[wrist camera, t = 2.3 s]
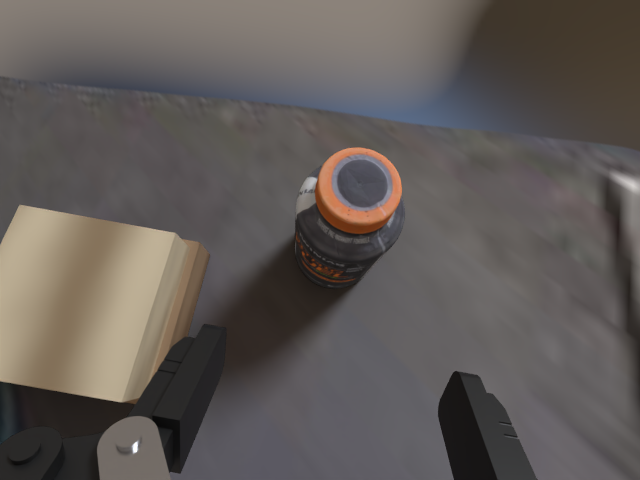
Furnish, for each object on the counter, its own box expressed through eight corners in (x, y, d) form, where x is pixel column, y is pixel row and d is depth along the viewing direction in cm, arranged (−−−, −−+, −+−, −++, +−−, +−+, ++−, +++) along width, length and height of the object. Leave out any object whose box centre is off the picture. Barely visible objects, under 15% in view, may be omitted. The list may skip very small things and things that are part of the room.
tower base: (16, 373, 23) (-76, 379, 17) (75, 230, 26) (14, 195, 20) (169, 400, 23) (128, 415, 17) (210, 254, 26) (186, 226, 21)
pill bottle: (279, 264, 26) (269, 201, 16) (319, 201, 28) (334, 106, 17) (350, 305, 26) (389, 268, 15) (385, 238, 28) (444, 163, 17)
